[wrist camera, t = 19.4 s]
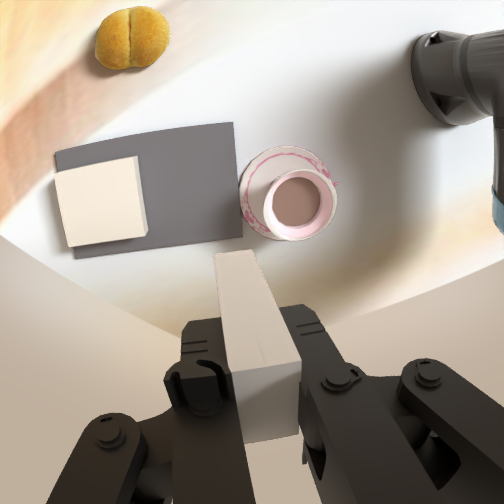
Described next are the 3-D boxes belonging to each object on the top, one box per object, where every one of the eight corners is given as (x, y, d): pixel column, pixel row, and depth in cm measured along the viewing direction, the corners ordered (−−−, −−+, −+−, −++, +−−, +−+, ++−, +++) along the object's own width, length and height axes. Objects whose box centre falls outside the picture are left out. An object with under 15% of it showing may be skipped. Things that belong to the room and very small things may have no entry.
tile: (137, 155, 34) (62, 170, 33) (133, 157, 31) (53, 173, 30) (148, 229, 37) (76, 240, 36) (145, 236, 35) (68, 247, 33)
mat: (57, 151, 32) (55, 152, 32) (232, 122, 35) (233, 121, 34) (77, 257, 37) (75, 258, 37) (241, 235, 40) (242, 237, 39)
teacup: (265, 255, 42) (276, 275, 36) (220, 174, 37) (223, 182, 31) (344, 211, 41) (365, 224, 35) (307, 129, 36) (326, 129, 31)
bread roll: (170, 65, 31) (167, 57, 28) (98, 74, 30) (87, 69, 26) (172, 6, 28) (170, -7, 25) (102, 16, 27) (92, 6, 23)
